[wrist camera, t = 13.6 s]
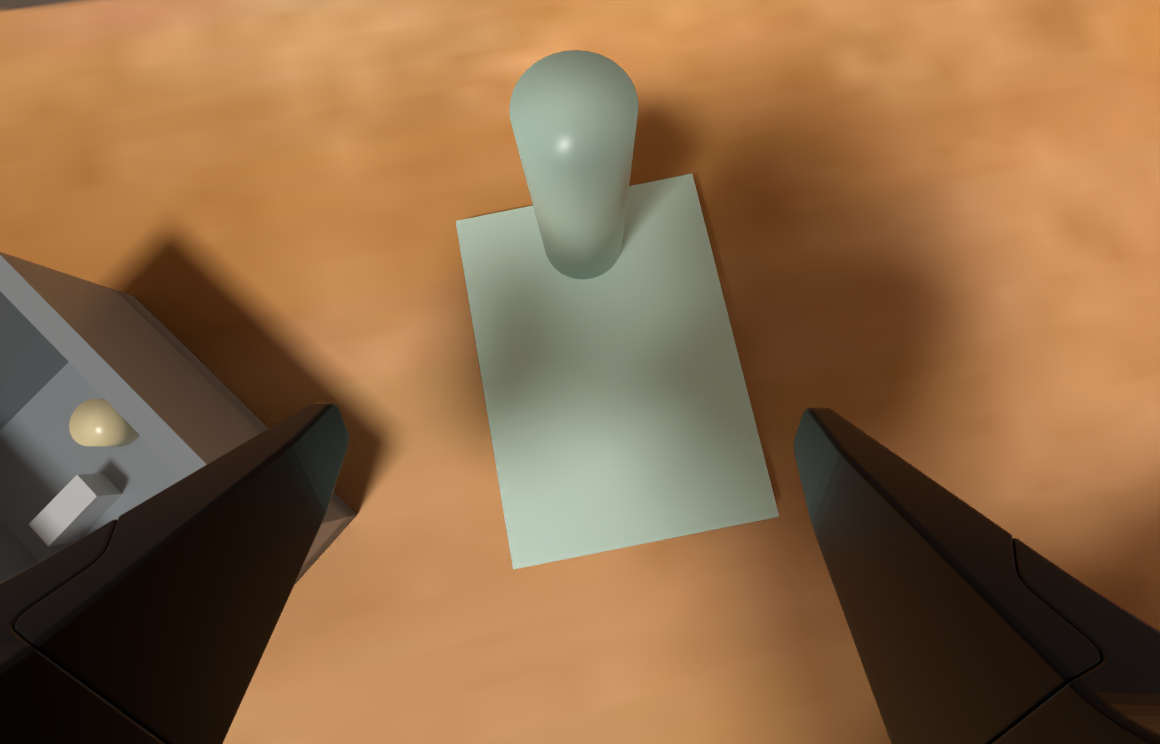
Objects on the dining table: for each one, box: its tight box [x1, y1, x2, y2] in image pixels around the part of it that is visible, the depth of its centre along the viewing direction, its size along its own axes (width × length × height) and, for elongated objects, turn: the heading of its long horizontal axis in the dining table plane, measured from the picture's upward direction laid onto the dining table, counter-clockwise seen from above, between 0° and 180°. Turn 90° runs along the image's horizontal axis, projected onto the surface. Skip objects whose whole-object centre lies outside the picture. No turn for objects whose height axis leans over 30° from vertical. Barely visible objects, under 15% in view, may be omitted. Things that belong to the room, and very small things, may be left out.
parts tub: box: [0, 252, 357, 583], centre depth 18 cm, size 10×14×5 cm
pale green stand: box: [456, 50, 779, 569], centre depth 16 cm, size 10×14×9 cm
